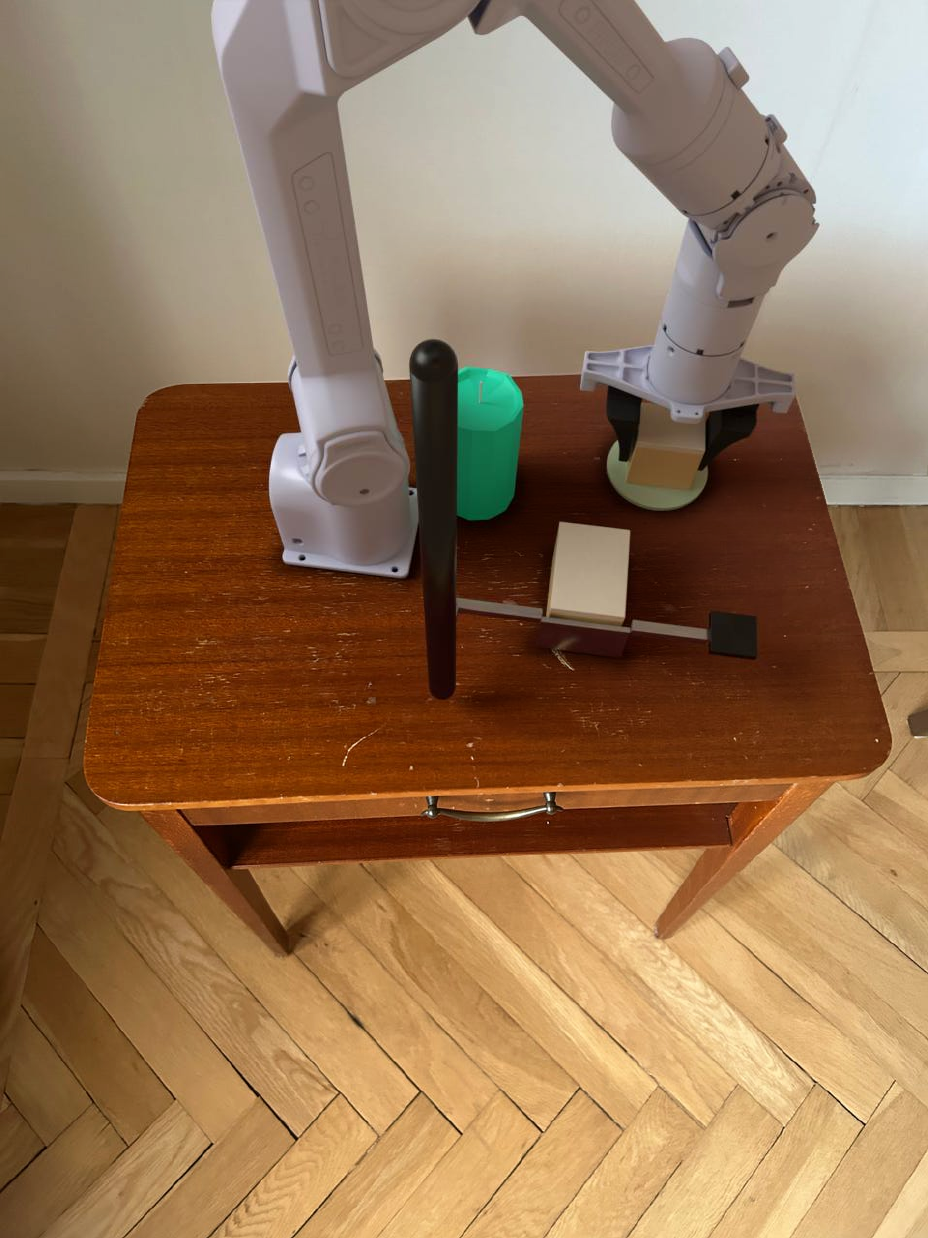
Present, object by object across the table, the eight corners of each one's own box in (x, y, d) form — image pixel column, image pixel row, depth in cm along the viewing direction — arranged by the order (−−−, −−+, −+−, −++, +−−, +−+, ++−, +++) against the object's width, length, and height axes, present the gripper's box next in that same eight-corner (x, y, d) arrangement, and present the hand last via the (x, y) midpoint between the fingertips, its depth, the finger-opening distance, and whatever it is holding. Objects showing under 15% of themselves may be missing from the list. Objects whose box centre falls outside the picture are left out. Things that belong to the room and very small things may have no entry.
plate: (603, 504, 68) (604, 501, 68) (609, 425, 72) (610, 421, 72) (706, 516, 68) (707, 513, 68) (707, 436, 72) (708, 433, 71)
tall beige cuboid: (543, 640, 63) (550, 607, 58) (552, 558, 66) (559, 521, 62) (613, 649, 63) (625, 617, 58) (618, 566, 66) (630, 529, 61)
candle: (507, 526, 67) (517, 423, 57) (431, 513, 68) (427, 408, 57) (520, 465, 70) (532, 356, 59) (447, 453, 71) (446, 342, 60)
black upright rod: (427, 708, 60) (404, 362, 31) (443, 614, 64) (435, 222, 34) (734, 749, 59) (1008, 430, 30) (733, 651, 62) (979, 278, 33)
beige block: (625, 482, 69) (637, 442, 65) (628, 443, 71) (639, 401, 66) (689, 490, 69) (705, 450, 64) (690, 451, 70) (706, 409, 66)
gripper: (588, 357, 55) (564, 486, 67) (822, 383, 54) (755, 508, 66) (596, 278, 58) (571, 415, 70) (816, 302, 57) (753, 436, 70)
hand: (661, 456), depth 69 cm, fingers open, 5 cm apart
